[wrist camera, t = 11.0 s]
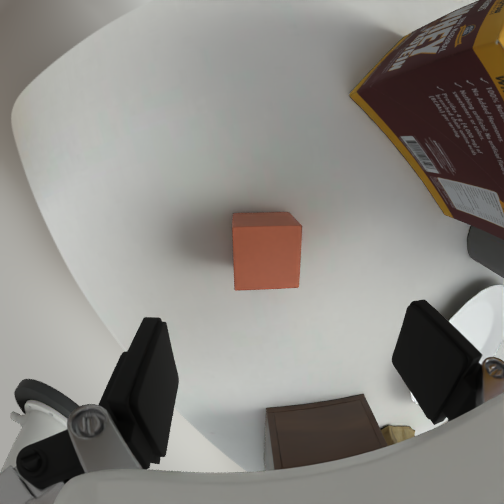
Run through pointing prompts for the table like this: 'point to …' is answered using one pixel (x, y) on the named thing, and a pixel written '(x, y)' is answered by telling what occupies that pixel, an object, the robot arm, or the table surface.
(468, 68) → the supplement box
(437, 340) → the robot arm
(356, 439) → the cabinet
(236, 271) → the block
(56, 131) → the table surface
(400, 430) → the rock
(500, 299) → the plate
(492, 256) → the bottle
